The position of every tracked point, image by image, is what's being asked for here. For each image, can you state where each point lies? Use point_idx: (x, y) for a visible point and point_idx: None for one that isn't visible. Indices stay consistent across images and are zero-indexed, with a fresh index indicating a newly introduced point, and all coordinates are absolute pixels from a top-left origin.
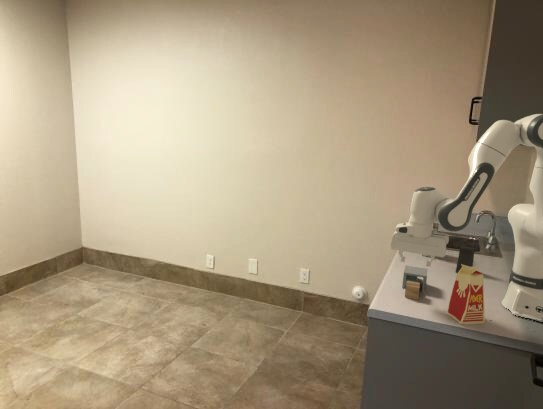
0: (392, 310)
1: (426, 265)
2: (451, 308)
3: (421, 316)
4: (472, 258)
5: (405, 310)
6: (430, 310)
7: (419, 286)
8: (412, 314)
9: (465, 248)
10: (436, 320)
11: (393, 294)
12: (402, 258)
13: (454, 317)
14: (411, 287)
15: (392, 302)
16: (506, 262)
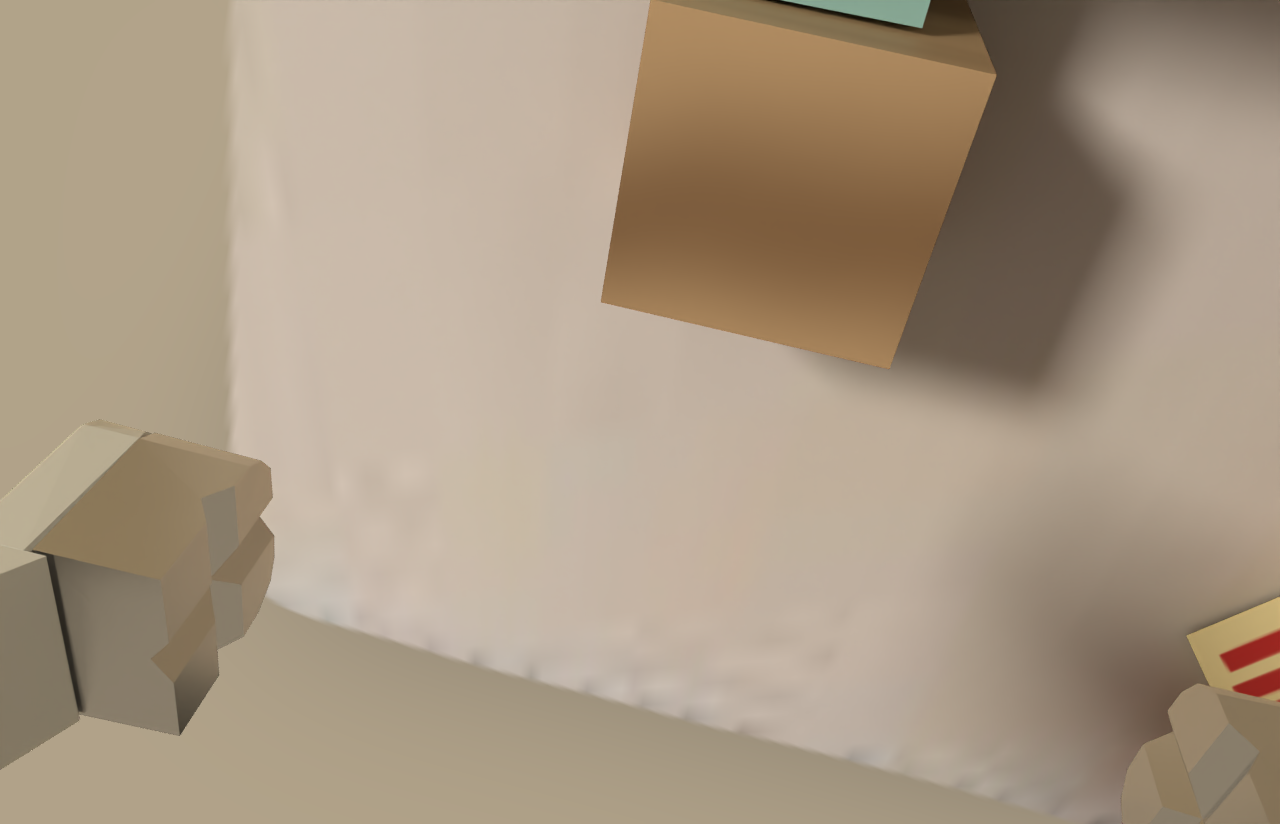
0: (453, 613)
1: (1126, 812)
2: None
3: (790, 700)
4: None
5: (612, 598)
6: (970, 564)
7: (910, 300)
8: (687, 671)
9: None
10: (952, 759)
11: (452, 126)
12: (97, 677)
13: None
14: (723, 318)
15: (446, 420)
16: None
